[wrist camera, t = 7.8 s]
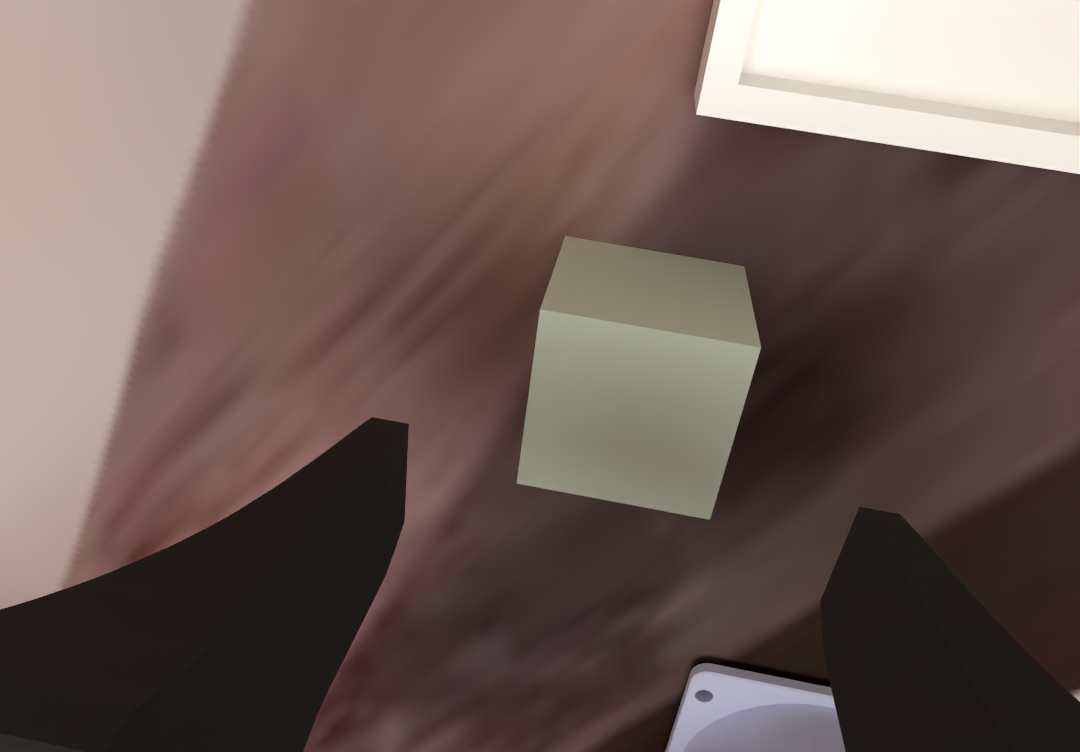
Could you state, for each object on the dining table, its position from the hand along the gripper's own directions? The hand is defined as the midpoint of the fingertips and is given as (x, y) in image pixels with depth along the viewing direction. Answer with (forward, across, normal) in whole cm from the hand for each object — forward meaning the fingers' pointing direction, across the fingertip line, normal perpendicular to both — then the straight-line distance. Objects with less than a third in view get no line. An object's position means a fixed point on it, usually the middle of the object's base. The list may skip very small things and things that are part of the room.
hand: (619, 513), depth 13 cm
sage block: (+7, 0, 0) cm, 7 cm away
